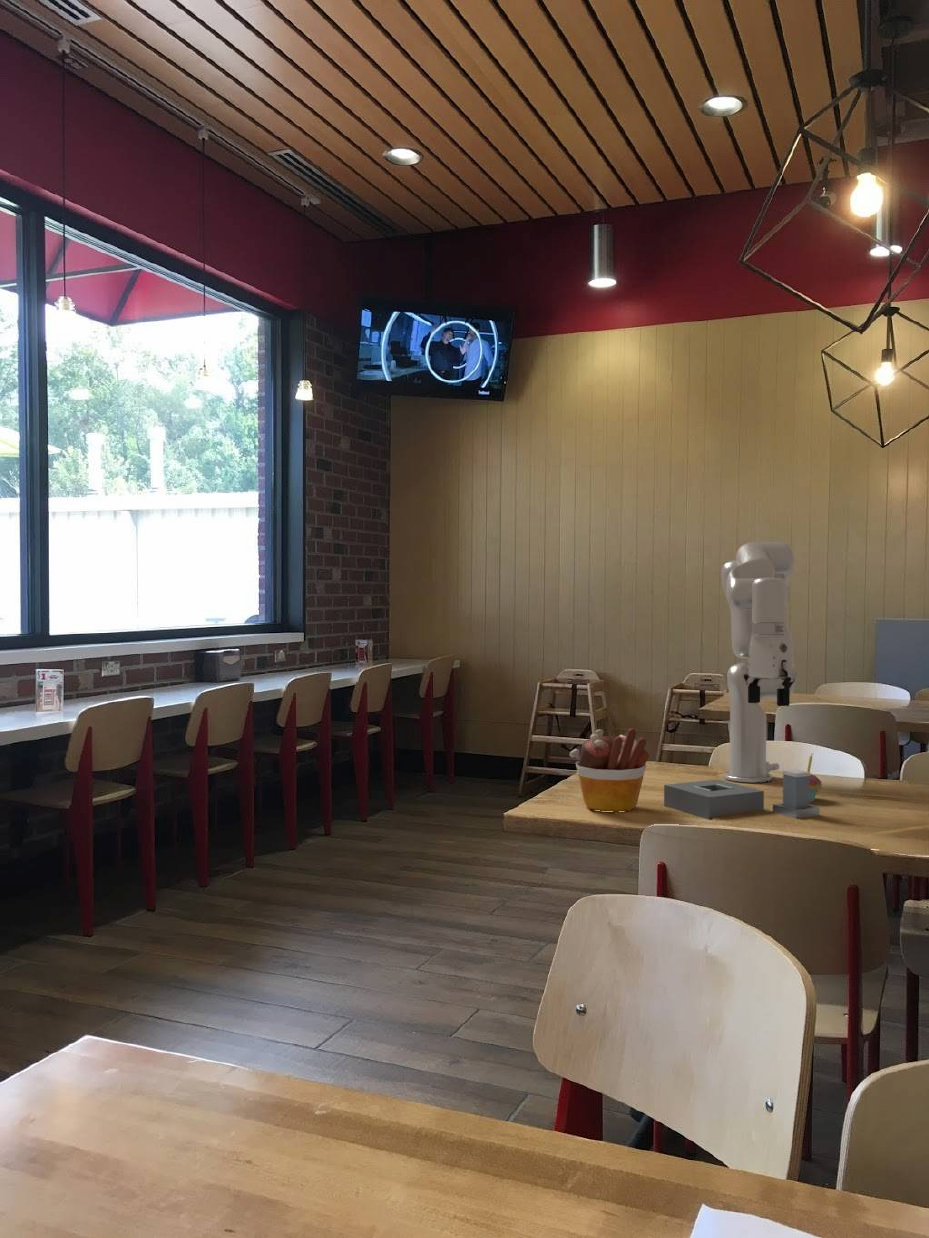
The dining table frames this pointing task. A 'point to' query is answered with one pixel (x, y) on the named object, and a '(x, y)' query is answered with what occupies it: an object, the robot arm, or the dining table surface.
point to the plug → (796, 788)
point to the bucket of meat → (611, 770)
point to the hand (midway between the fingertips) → (768, 704)
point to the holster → (796, 811)
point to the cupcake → (813, 782)
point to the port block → (713, 798)
